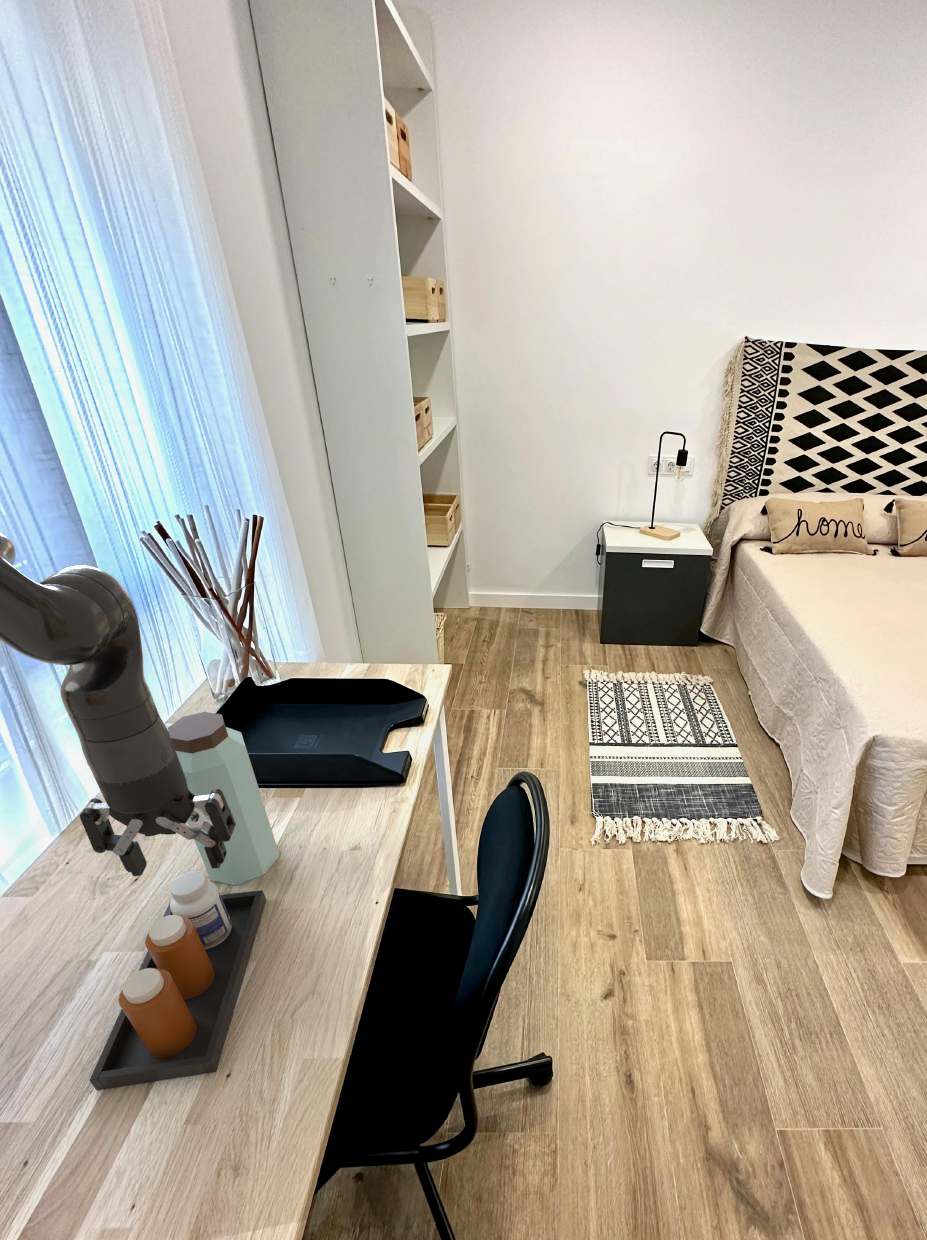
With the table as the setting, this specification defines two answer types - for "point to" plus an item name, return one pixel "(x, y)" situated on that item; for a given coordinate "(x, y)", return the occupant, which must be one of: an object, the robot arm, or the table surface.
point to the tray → (210, 1010)
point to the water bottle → (226, 793)
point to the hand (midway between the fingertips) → (179, 867)
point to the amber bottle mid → (180, 954)
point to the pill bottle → (201, 907)
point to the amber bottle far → (158, 1012)
